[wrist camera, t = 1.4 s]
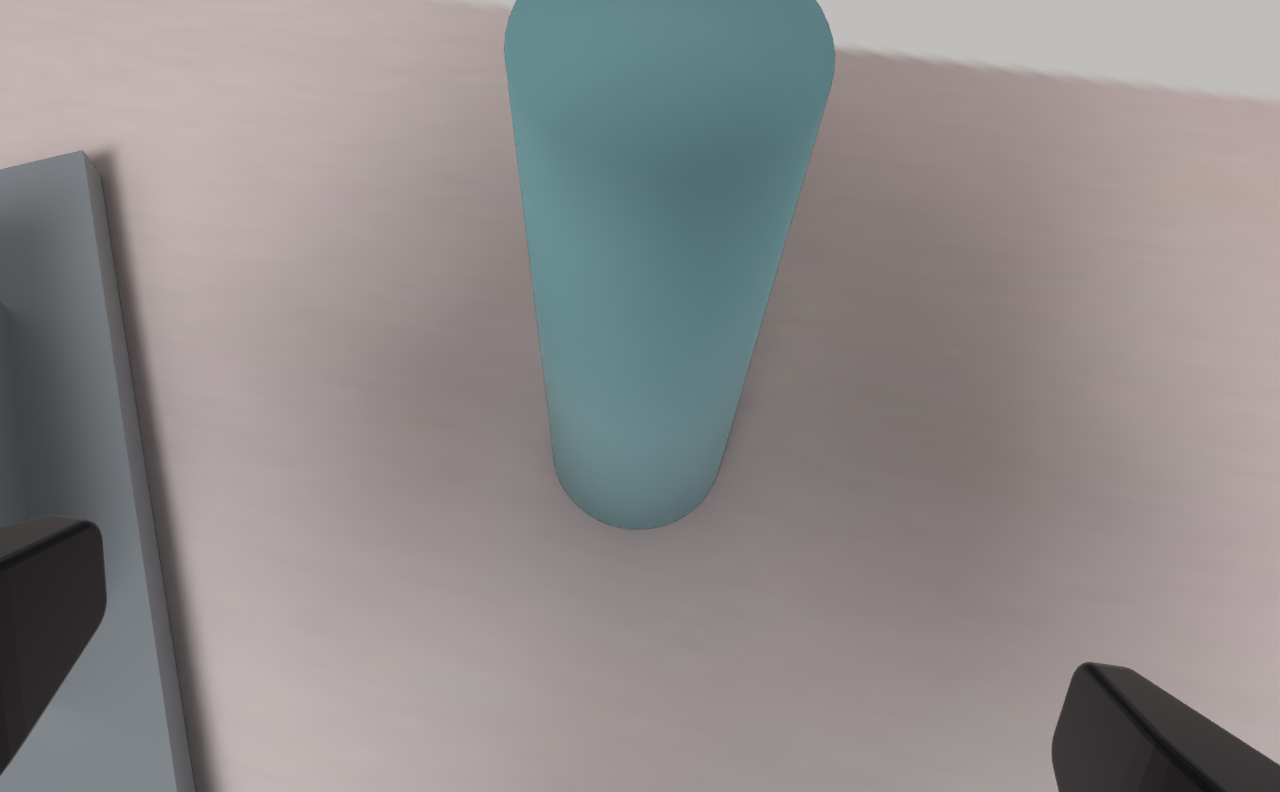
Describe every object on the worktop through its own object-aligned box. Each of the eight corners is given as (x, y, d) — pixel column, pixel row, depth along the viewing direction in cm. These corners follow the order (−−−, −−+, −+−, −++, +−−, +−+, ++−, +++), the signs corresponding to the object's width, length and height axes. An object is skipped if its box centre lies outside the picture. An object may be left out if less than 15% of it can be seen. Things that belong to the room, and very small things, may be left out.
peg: (745, 498, 23) (889, 130, 12) (582, 551, 23) (561, 217, 11) (686, 355, 25) (760, -100, 13) (532, 400, 24) (466, -35, 13)
